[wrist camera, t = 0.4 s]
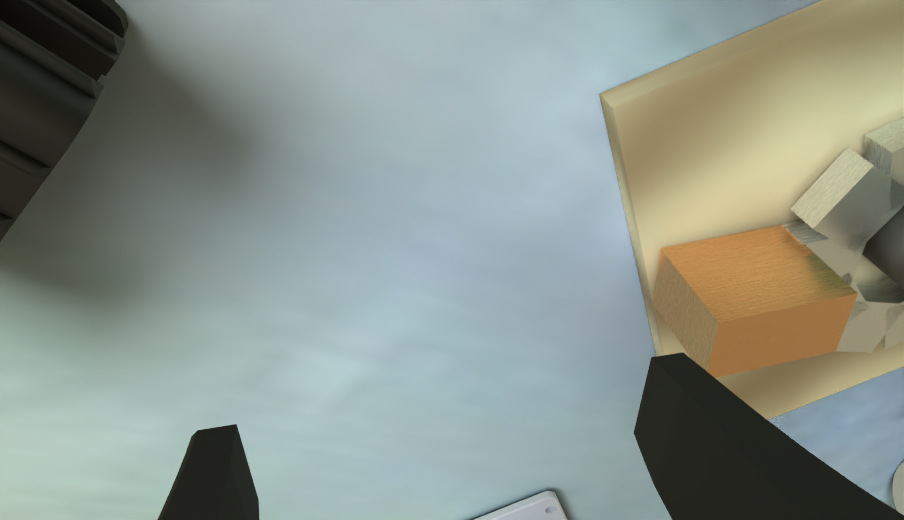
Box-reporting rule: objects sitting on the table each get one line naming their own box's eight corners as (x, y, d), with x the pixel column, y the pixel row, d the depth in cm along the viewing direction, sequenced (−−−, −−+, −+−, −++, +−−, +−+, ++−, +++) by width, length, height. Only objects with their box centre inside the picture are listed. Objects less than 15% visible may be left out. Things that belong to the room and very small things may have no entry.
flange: (1082, 75, 22) (1207, 125, 19) (963, 307, 28) (1044, 372, 25) (675, 146, 20) (743, 213, 17) (642, 376, 26) (688, 455, 23)
